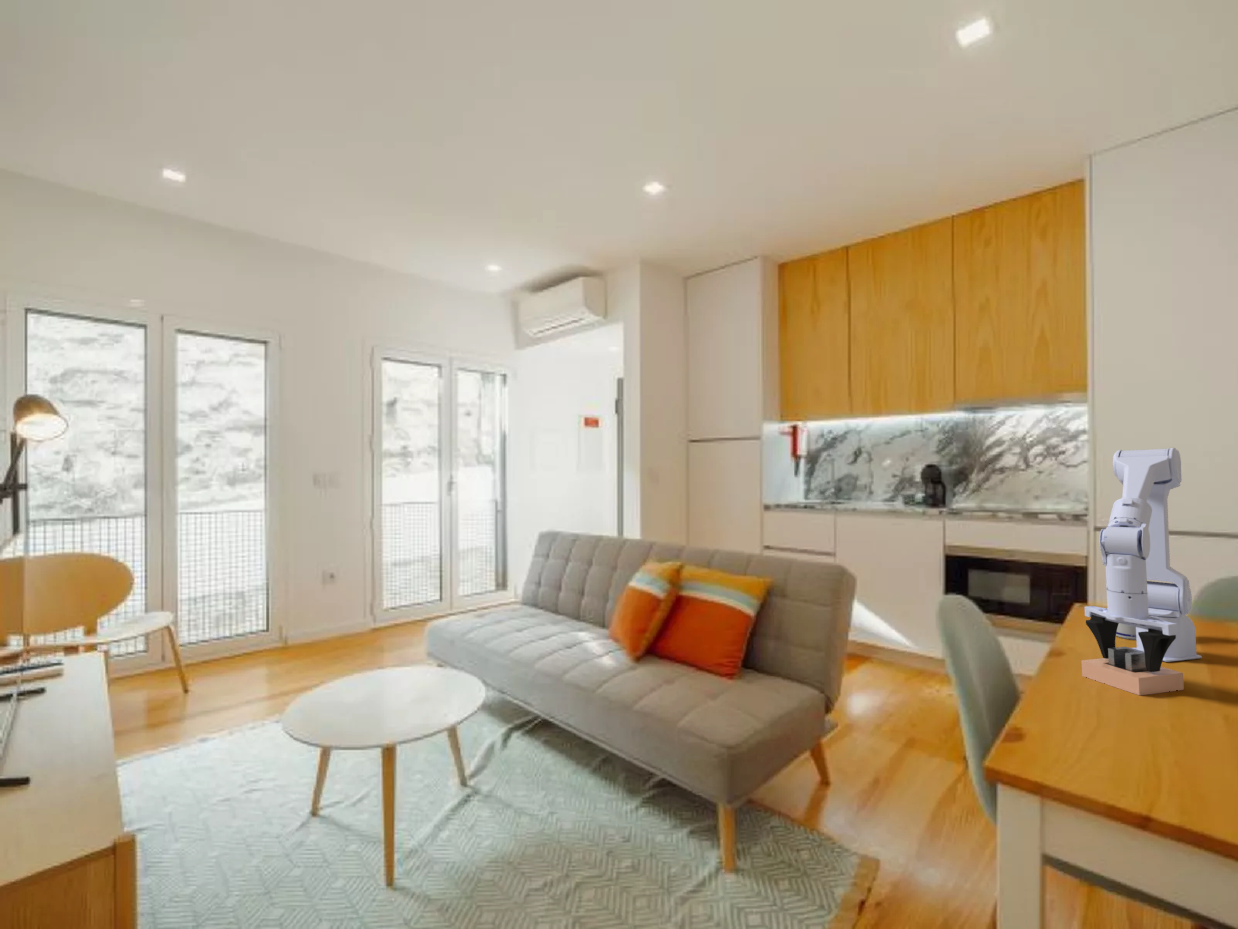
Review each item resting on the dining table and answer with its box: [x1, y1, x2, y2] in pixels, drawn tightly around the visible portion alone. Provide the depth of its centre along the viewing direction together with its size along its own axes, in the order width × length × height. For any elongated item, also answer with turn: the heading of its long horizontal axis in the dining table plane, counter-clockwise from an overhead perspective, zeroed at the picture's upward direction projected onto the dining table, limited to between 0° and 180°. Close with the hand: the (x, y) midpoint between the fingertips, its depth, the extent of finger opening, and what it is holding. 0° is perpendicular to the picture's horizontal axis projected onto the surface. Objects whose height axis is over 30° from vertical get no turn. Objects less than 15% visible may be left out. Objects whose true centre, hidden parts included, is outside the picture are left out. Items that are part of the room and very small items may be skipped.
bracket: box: [1108, 646, 1147, 673], centre depth 104 cm, size 4×4×6 cm
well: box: [1081, 657, 1185, 696], centre depth 104 cm, size 10×10×3 cm
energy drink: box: [1116, 623, 1136, 641], centre depth 133 cm, size 5×5×12 cm
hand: (1130, 664), depth 105 cm, fingers open, 7 cm apart
